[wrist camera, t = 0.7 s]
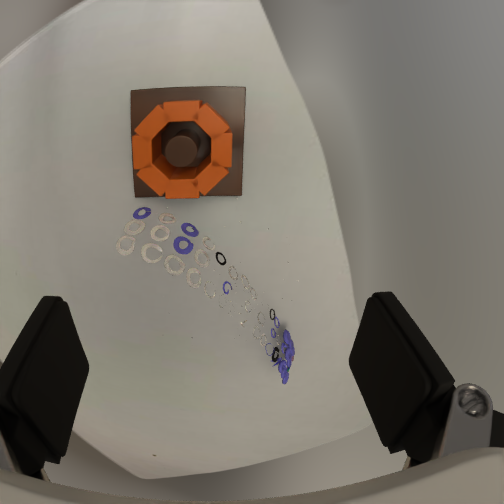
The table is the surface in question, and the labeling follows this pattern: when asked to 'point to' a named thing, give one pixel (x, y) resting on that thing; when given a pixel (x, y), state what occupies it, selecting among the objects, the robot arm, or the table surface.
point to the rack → (193, 132)
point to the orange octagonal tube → (182, 178)
